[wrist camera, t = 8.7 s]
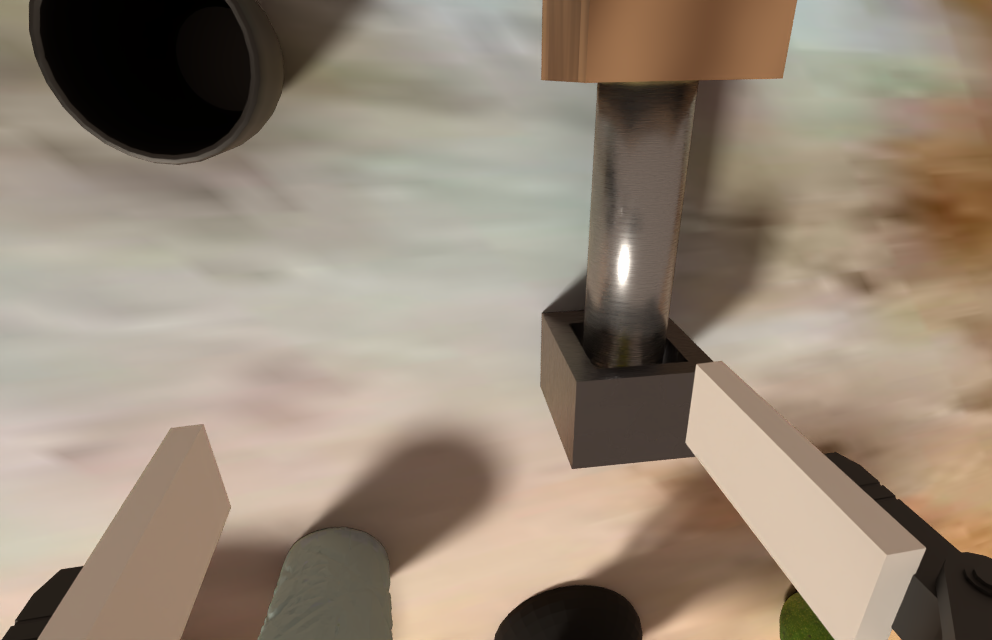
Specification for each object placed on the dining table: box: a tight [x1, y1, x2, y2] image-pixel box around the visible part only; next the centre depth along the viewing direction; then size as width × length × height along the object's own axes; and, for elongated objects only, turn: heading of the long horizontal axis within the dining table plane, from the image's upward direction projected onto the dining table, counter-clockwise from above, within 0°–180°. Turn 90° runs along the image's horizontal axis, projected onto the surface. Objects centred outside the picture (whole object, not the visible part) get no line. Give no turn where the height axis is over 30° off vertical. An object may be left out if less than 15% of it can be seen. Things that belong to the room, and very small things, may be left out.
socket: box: [541, 0, 797, 83], centre depth 27 cm, size 9×5×10 cm, turn 91°
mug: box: [29, 0, 284, 165], centre depth 24 cm, size 8×12×10 cm
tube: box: [583, 80, 699, 369], centre depth 31 cm, size 20×5×5 cm, turn 1°
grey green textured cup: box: [257, 527, 393, 640], centre depth 40 cm, size 10×10×12 cm
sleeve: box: [540, 310, 713, 469], centre depth 35 cm, size 8×6×9 cm
